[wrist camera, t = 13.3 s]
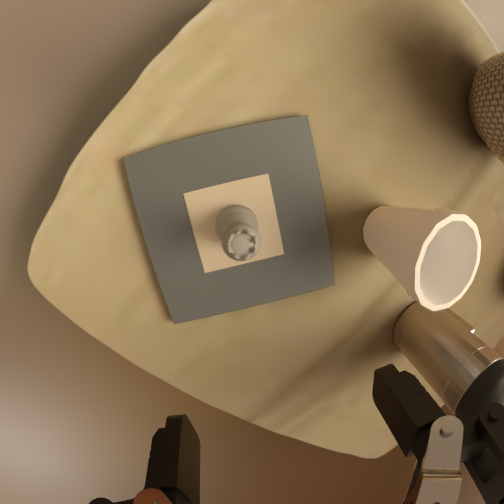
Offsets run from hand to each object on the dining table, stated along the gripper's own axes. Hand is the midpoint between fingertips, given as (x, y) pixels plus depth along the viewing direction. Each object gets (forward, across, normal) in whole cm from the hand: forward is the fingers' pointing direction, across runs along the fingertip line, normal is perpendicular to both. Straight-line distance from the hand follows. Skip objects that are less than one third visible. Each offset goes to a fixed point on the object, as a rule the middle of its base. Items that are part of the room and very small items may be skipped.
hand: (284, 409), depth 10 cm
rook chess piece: (+22, 0, -3) cm, 22 cm away
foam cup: (+24, -18, +2) cm, 30 cm away
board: (+23, 0, -3) cm, 23 cm away
